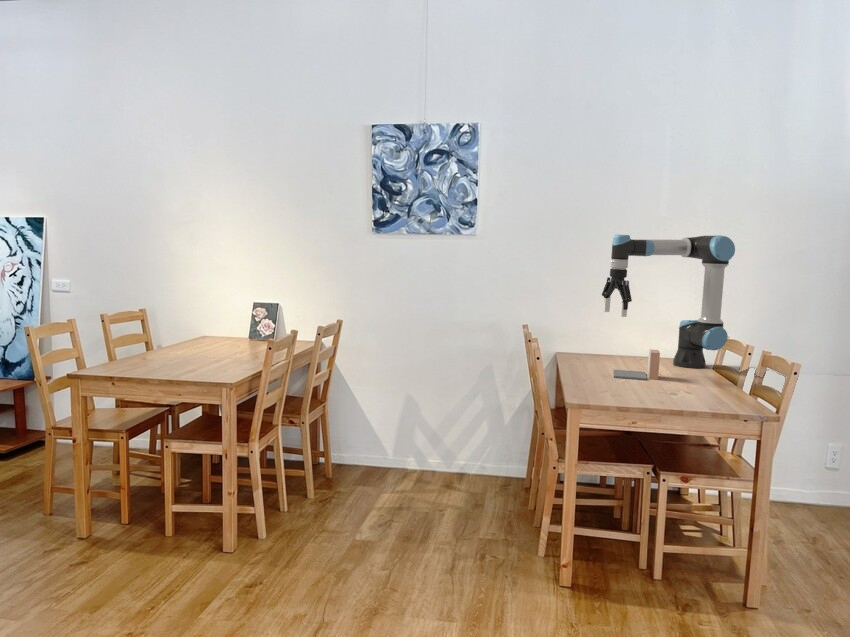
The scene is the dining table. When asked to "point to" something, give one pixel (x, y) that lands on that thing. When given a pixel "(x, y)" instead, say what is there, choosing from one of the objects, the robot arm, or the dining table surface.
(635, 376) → the slate mat
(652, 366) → the terracotta block
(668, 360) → the dining table surface
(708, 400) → the dining table surface
